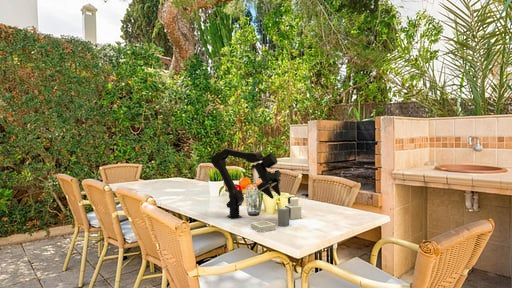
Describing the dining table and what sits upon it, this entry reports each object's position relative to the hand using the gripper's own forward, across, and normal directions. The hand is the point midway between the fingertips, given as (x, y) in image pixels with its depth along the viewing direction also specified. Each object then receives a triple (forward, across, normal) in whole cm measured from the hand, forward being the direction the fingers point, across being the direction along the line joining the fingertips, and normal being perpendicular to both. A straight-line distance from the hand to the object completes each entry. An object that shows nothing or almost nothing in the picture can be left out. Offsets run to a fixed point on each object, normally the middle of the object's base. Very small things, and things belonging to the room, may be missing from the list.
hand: (276, 197), depth 192 cm
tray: (+11, -14, +8) cm, 20 cm away
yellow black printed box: (+14, +14, +4) cm, 20 cm away
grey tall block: (+15, -3, +3) cm, 16 cm away
